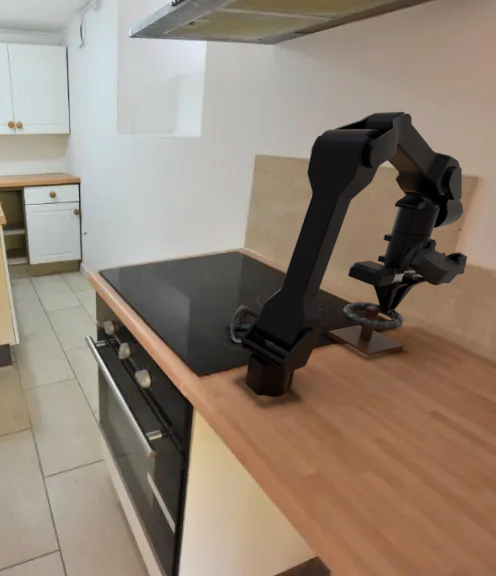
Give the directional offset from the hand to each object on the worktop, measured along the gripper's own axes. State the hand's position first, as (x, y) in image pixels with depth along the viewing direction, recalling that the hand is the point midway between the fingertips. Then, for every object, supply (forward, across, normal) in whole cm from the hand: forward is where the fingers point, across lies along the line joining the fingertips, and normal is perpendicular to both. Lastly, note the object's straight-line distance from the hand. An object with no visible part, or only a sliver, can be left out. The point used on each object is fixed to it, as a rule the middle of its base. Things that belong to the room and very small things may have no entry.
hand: (387, 310), depth 74 cm
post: (+7, -4, 0) cm, 8 cm away
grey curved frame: (+7, -22, +10) cm, 25 cm away
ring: (0, -4, 0) cm, 4 cm away
